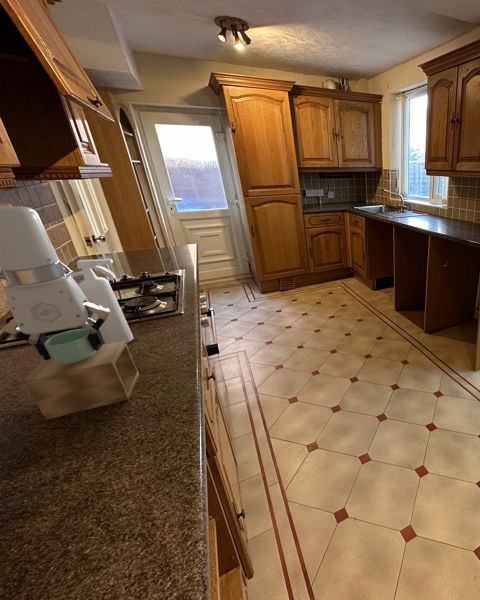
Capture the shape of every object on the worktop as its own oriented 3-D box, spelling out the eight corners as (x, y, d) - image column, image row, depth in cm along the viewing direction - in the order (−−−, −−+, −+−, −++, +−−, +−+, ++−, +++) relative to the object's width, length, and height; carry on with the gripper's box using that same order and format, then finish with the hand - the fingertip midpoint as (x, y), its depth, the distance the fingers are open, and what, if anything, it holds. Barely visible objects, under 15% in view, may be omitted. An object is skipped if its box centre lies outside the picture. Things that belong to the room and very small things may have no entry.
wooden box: (46, 419, 67) (22, 381, 63) (66, 391, 75) (46, 355, 71) (128, 399, 72) (112, 362, 68) (139, 374, 80) (125, 340, 76)
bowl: (47, 369, 65) (36, 349, 63) (62, 351, 71) (53, 333, 69) (92, 359, 68) (83, 341, 66) (104, 343, 74) (96, 326, 72)
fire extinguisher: (93, 342, 95) (55, 261, 85) (143, 332, 100) (113, 254, 90) (85, 353, 89) (44, 268, 79) (138, 342, 95) (106, 260, 84)
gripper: (-43, 288, 55) (9, 372, 62) (87, 272, 62) (120, 350, 69) (-15, 275, 61) (30, 353, 69) (100, 262, 68) (130, 334, 75)
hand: (75, 351), depth 69 cm, fingers closed on bowl, 7 cm apart
